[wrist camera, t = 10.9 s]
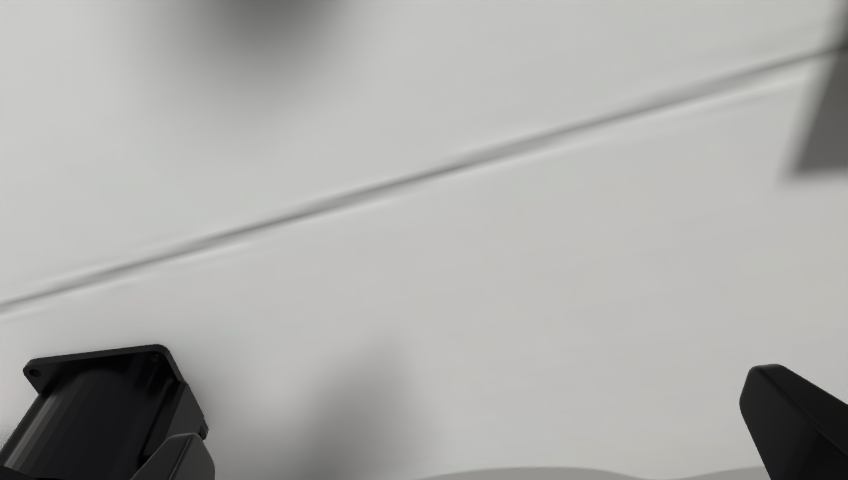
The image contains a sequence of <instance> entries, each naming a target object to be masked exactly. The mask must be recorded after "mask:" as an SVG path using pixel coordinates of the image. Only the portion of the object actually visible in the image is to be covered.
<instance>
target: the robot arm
mask: <svg viewBox="0 0 848 480" xmlns="http://www.w3.org/2000/svg"><path fill="white" fill-rule="evenodd" d="M156 355H158V356H156ZM23 373H24V375H25V376H26V378H27V379H28V380H29V382H30V383H31V384H32V386H33V387H34V388H35V390H36V391H37V392H38V394H39V395H38V397H37V398H36V400H35V401H34V403H33V404H32V405H31V407H30V408H29V410H28V411H27V413H26V414H25V416H24V417H23V419H22V420H21V422H20V423H19V425H18V426H17V428H16V429H15V430H14V432H13V433H12V435H11V436H10V438H9V439H8V441H7V442H6V444H5V445H4V447H3V448H2V450H1V451H0V480H215V466H214V462H213V460H212V458H211V456H210V454H209V452H208V450H207V449H206V447H205V445H204V443H203V440H204V439H206V436H207V433H208V430H209V429H208V426H207V424H206V422H205V420H204V415H203V413H202V411H201V409H200V407H199V405H198V403H197V401H196V399H195V397H194V395H193V393H192V391H191V389H190V387H189V385H188V384H187V383H186V382H185V381H184V379H183V377H182V375H181V373H180V371H179V369H178V367H177V365H176V363H175V361H174V359H173V357H172V355H171V353H170V351H169V350H168V349H167V348H166V347H164V346H162V345H159V344H153V345H145V346H137V347H128V348H120V349H112V350H104V351H95V352H87V353H79V354H70V355H62V356H54V357H45V358H37V359H32V360H30V361H29V362H28V363H27V364H26V366H25V367H24V368H23ZM739 405H740V410H741V414H742V416H743V418H744V421H745V423H746V425H747V427H748V430H749V432H750V434H751V436H752V439H753V441H754V443H755V445H756V447H757V450H758V452H759V454H760V456H761V459H762V461H763V463H764V465H765V468H766V470H767V472H768V474H769V476H770V479H771V480H848V404H846V403H844V402H843V401H841V400H839V399H838V398H836V397H834V396H833V395H831V394H829V393H828V392H826V391H824V390H823V389H821V388H819V387H818V386H816V385H814V384H813V383H811V382H809V381H808V380H806V379H804V378H803V377H801V376H799V375H798V374H796V373H794V372H793V371H791V370H789V369H788V368H786V367H784V366H782V365H779V364H768V365H759V366H754V367H752V368H751V369H750V370H749V372H748V375H747V378H746V381H745V384H744V387H743V390H742V393H741V396H740V401H739Z"/></svg>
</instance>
